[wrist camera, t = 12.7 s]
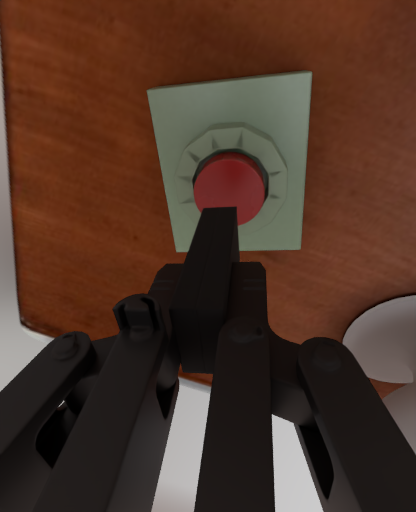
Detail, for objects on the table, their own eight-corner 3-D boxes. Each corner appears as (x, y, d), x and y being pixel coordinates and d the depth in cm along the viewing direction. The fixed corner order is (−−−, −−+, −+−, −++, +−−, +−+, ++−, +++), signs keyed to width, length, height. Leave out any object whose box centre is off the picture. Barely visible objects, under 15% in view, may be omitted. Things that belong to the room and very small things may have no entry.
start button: (193, 154, 20) (188, 161, 18) (264, 149, 19) (264, 156, 18) (201, 217, 22) (197, 228, 21) (264, 214, 21) (264, 226, 20)
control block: (155, 86, 21) (136, 92, 18) (307, 69, 20) (317, 72, 16) (181, 239, 27) (171, 264, 24) (297, 236, 26) (303, 262, 23)
